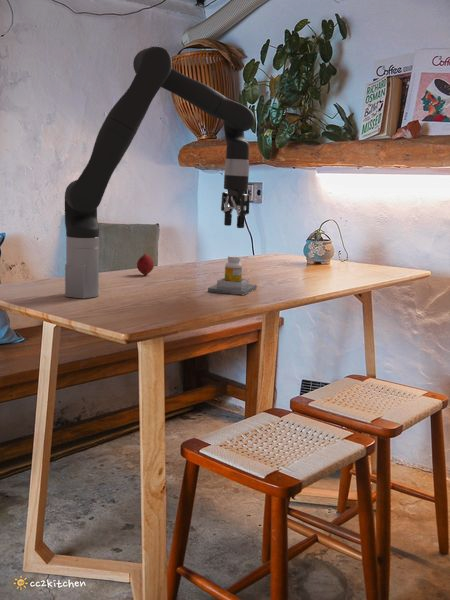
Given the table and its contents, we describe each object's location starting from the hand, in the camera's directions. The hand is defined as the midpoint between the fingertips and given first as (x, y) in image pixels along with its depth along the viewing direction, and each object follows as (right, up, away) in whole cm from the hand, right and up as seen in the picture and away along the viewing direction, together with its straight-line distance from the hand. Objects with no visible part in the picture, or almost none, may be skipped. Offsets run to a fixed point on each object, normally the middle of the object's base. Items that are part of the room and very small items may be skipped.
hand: (233, 226), depth 215 cm
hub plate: (0, -20, +4) cm, 20 cm away
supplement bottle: (0, -19, +3) cm, 19 cm away
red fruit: (-31, -15, +25) cm, 43 cm away
